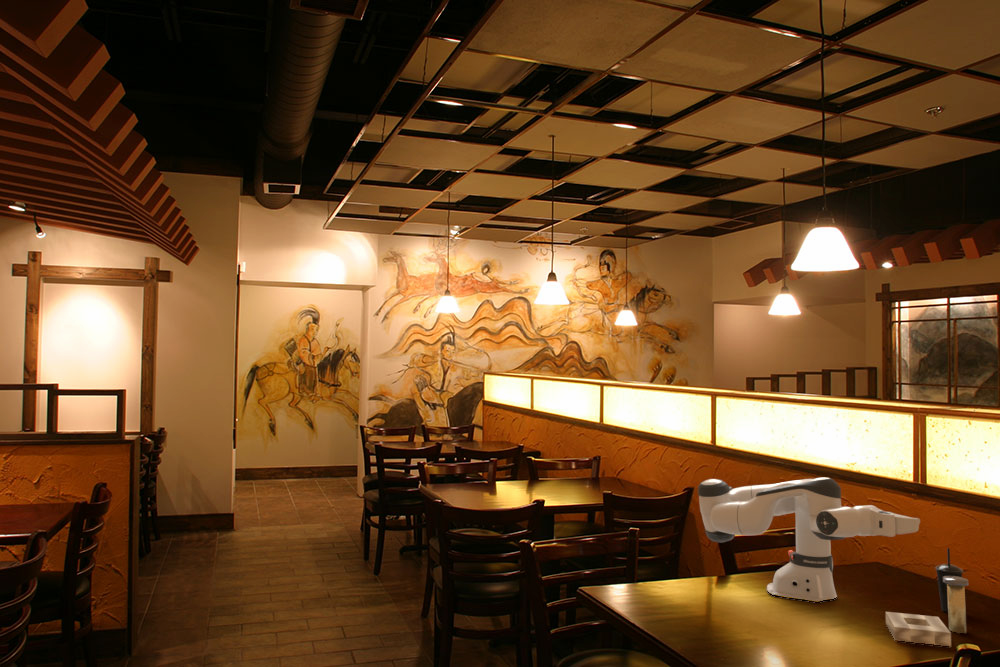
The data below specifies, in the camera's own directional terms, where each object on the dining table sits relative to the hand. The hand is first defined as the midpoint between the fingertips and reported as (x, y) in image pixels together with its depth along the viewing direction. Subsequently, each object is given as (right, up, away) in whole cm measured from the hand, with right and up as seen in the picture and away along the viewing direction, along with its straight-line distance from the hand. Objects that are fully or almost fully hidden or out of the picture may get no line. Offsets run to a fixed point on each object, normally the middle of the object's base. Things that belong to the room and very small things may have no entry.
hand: (905, 517), depth 220 cm
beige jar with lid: (+11, -32, -8) cm, 34 cm away
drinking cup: (+20, -33, +10) cm, 40 cm away
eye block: (-3, -31, -12) cm, 34 cm away
